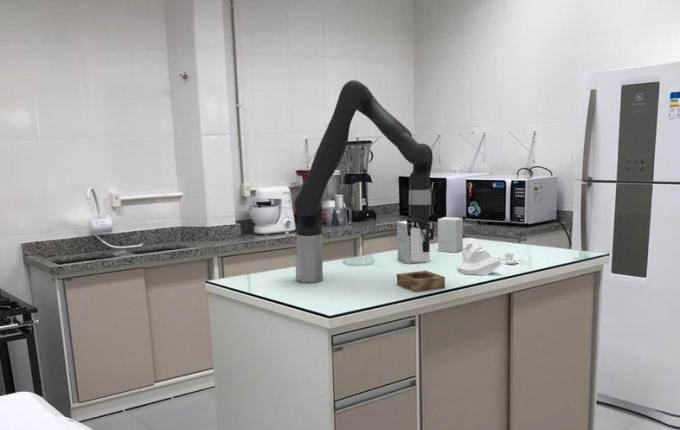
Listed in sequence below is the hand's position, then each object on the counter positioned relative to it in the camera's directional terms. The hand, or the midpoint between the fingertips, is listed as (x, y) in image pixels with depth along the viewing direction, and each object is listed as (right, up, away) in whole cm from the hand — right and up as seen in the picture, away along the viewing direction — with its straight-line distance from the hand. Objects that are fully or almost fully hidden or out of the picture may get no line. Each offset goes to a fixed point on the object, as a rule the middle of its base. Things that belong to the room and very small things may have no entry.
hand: (420, 250), depth 205 cm
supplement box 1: (+2, -8, +44) cm, 45 cm away
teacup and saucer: (+39, -8, +37) cm, 54 cm away
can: (0, -4, +1) cm, 4 cm away
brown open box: (0, -13, +1) cm, 13 cm away
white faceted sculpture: (+24, -10, +21) cm, 33 cm away
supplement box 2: (+23, -4, +66) cm, 70 cm away
